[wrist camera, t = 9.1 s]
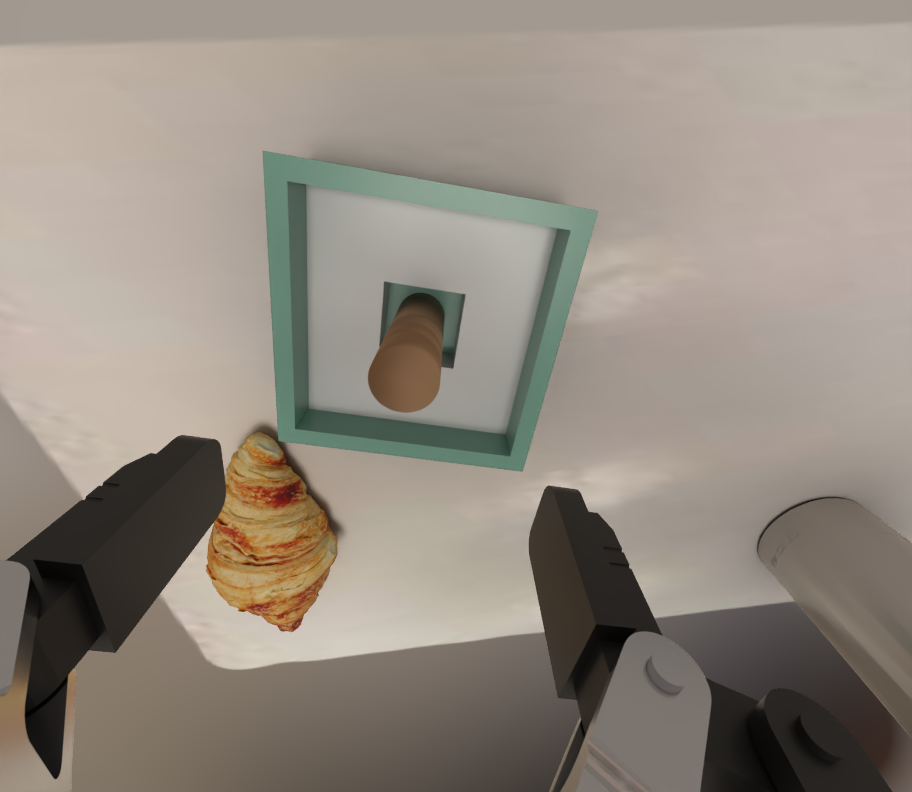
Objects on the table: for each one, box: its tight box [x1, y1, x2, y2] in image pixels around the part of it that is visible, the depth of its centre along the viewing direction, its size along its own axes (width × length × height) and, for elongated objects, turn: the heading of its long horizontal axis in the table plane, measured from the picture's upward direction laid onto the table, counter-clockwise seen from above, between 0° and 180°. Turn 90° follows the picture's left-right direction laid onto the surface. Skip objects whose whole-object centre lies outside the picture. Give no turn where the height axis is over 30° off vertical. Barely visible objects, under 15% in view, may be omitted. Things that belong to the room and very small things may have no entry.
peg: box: [368, 293, 445, 413], centre depth 21 cm, size 3×3×10 cm
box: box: [263, 151, 598, 471], centre depth 23 cm, size 15×15×6 cm
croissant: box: [206, 433, 337, 632], centre depth 32 cm, size 21×10×8 cm, turn 178°
